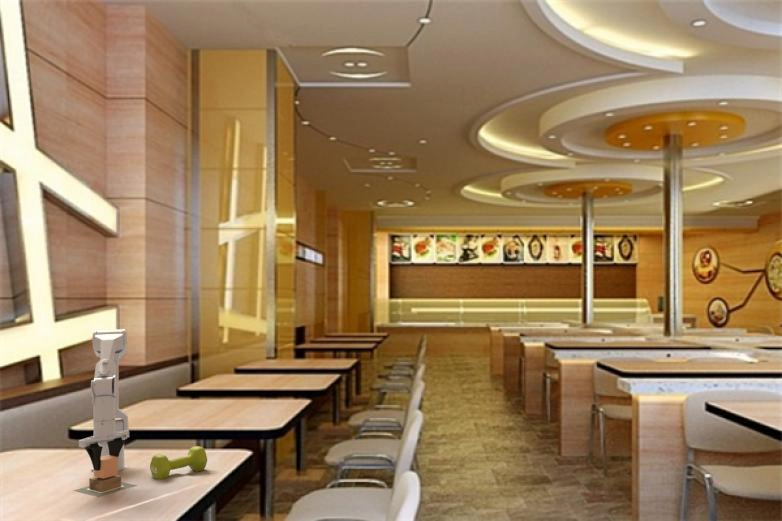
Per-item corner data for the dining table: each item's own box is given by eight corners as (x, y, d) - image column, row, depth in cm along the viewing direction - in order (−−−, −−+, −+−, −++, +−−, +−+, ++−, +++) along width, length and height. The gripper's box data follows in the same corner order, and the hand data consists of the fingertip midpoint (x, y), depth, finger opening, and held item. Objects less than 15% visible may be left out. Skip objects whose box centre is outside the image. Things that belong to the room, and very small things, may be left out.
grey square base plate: (73, 492, 191) (73, 490, 191) (111, 481, 201) (111, 479, 201) (98, 499, 184) (98, 496, 184) (136, 487, 194) (136, 485, 194)
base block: (89, 489, 192) (89, 478, 192) (108, 483, 197) (108, 473, 197) (101, 492, 188) (101, 481, 188) (121, 486, 193) (121, 475, 193)
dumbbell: (160, 483, 198) (160, 458, 198) (147, 478, 203) (147, 454, 204) (210, 471, 210) (209, 447, 210) (196, 466, 215) (196, 444, 216)
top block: (94, 476, 192) (93, 458, 192) (108, 472, 196) (108, 454, 196) (103, 478, 189) (103, 460, 189) (117, 474, 193) (117, 456, 193)
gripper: (88, 425, 185) (89, 476, 184) (135, 416, 197) (136, 463, 196) (74, 423, 189) (74, 472, 188) (120, 414, 201) (121, 460, 200)
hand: (105, 467), depth 193 cm, fingers closed on top block, 4 cm apart
